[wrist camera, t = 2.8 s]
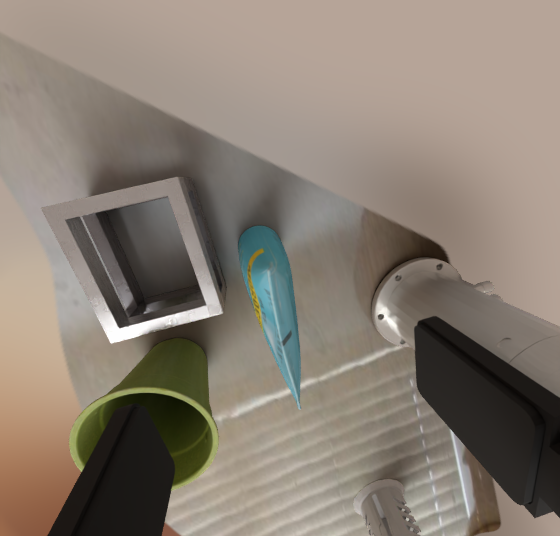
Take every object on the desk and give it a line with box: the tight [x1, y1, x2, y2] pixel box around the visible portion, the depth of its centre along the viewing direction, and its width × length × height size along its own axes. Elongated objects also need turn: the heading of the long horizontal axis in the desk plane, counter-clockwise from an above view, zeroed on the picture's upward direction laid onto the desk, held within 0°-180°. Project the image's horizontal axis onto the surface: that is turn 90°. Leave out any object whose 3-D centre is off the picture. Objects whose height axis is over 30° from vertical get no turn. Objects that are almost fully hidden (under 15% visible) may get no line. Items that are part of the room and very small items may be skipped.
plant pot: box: [69, 338, 219, 491], centre depth 27 cm, size 12×12×11 cm
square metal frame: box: [41, 177, 227, 343], centre depth 25 cm, size 10×12×6 cm
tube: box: [238, 226, 301, 410], centre depth 21 cm, size 7×5×19 cm, turn 16°
